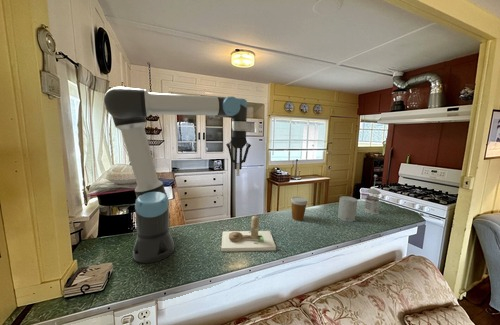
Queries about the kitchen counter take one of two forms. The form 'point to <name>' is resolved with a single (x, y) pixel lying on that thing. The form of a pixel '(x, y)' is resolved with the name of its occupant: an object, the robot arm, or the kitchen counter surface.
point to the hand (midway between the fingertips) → (237, 175)
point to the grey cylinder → (347, 208)
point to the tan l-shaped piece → (254, 235)
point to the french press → (372, 201)
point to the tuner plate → (248, 242)
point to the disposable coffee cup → (298, 208)
